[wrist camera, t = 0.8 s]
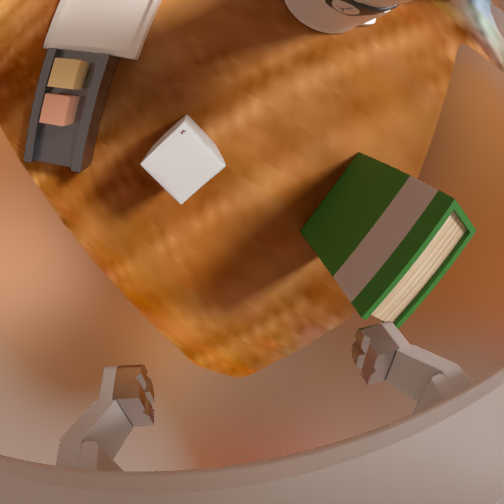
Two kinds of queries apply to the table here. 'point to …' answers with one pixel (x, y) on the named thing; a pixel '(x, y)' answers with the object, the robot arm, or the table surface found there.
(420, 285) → the hardback book
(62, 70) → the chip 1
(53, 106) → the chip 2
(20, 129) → the table surface
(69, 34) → the tray
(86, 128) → the slot block
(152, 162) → the supplement box
